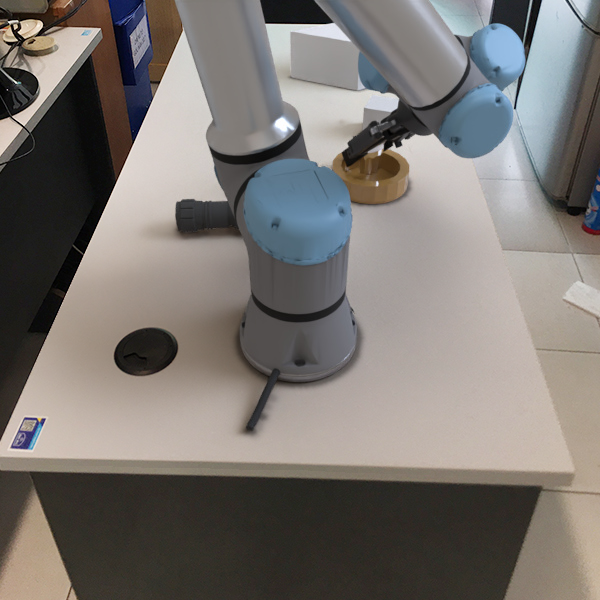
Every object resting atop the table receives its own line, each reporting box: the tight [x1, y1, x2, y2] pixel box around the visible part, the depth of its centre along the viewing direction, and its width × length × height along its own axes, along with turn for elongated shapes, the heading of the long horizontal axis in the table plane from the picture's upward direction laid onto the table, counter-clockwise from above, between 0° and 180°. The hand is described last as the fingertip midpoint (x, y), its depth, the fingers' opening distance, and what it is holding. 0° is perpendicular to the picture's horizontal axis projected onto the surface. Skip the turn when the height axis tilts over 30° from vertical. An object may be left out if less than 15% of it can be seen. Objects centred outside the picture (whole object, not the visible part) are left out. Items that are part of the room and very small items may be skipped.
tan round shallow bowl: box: [331, 148, 410, 205], centre depth 109 cm, size 13×13×4 cm
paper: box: [289, 22, 367, 91], centre depth 140 cm, size 14×29×10 cm, turn 92°
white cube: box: [361, 94, 399, 131], centre depth 122 cm, size 6×6×6 cm
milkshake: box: [358, 141, 386, 181], centre depth 107 cm, size 4×5×10 cm
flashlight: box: [174, 198, 240, 234], centre depth 99 cm, size 15×5×5 cm, turn 93°
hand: (358, 155), depth 110 cm, fingers closed on milkshake, 5 cm apart
